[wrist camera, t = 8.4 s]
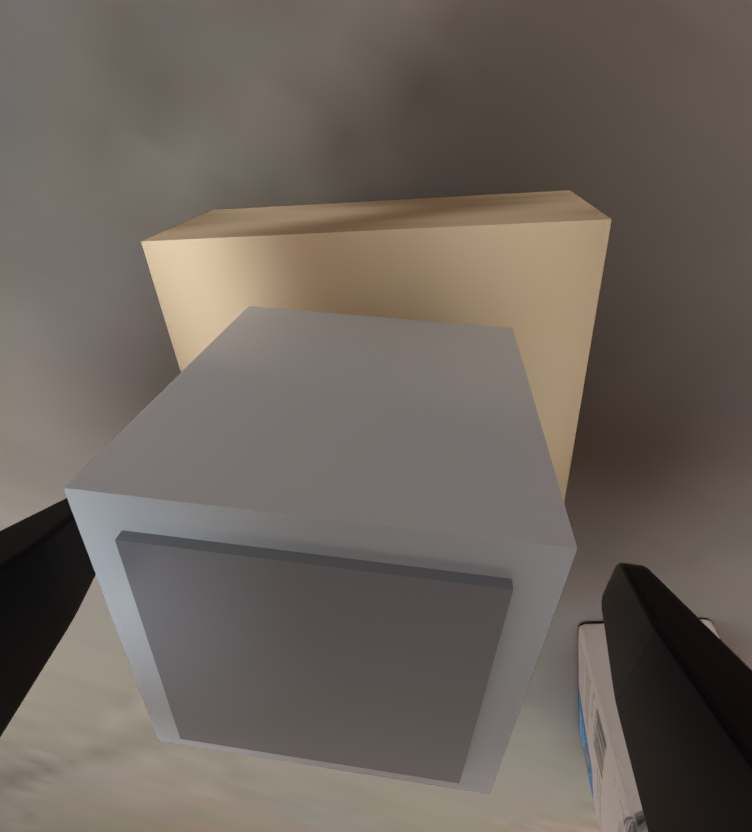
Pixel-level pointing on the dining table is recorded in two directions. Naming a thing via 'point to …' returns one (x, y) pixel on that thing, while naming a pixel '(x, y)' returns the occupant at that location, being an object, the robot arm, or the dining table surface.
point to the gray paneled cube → (335, 544)
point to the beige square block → (405, 277)
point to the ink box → (606, 737)
